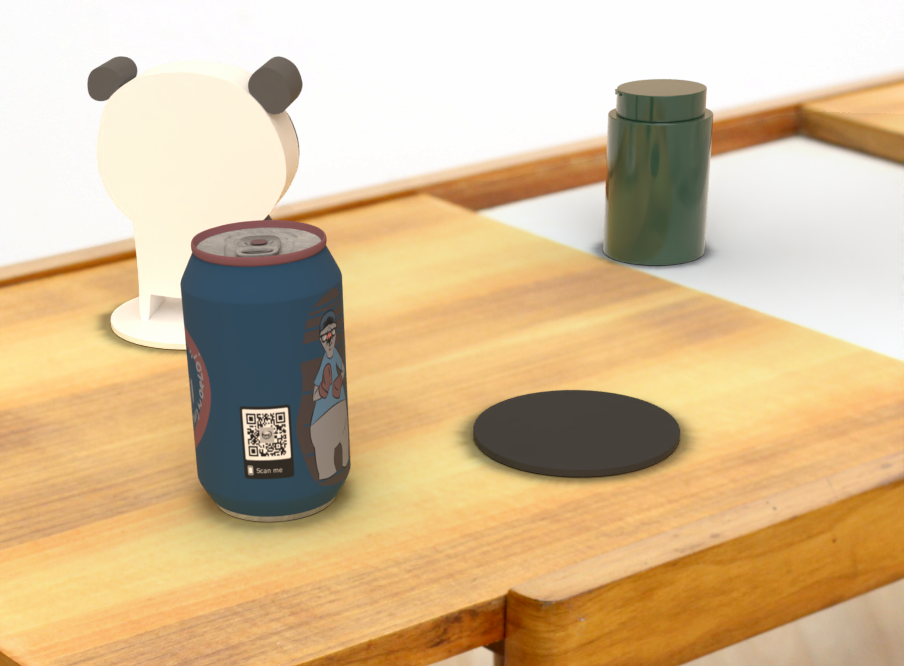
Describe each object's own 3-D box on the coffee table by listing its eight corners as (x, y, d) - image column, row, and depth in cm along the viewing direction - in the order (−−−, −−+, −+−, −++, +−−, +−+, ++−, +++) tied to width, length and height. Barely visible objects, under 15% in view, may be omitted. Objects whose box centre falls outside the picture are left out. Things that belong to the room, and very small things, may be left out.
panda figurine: (325, 290, 98) (314, 43, 91) (288, 352, 88) (272, 80, 81) (142, 287, 100) (117, 45, 93) (85, 347, 90) (53, 81, 83)
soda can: (207, 466, 74) (184, 218, 69) (352, 461, 74) (341, 212, 68) (192, 531, 68) (167, 264, 62) (351, 526, 68) (339, 258, 62)
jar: (684, 233, 106) (694, 74, 101) (718, 261, 100) (730, 93, 95) (591, 241, 105) (596, 81, 100) (620, 269, 99) (626, 100, 95)
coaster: (646, 390, 81) (646, 382, 81) (707, 467, 72) (708, 459, 72) (456, 405, 80) (456, 398, 80) (495, 485, 71) (495, 477, 71)
